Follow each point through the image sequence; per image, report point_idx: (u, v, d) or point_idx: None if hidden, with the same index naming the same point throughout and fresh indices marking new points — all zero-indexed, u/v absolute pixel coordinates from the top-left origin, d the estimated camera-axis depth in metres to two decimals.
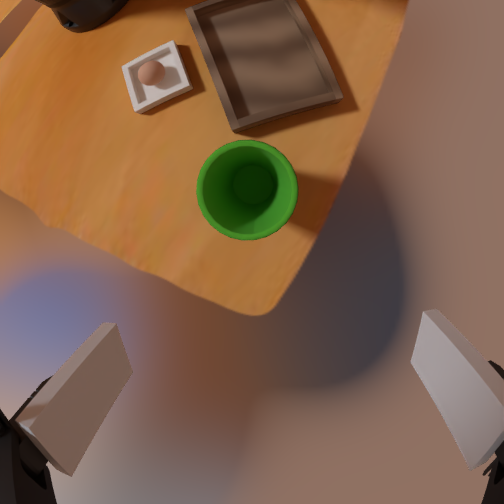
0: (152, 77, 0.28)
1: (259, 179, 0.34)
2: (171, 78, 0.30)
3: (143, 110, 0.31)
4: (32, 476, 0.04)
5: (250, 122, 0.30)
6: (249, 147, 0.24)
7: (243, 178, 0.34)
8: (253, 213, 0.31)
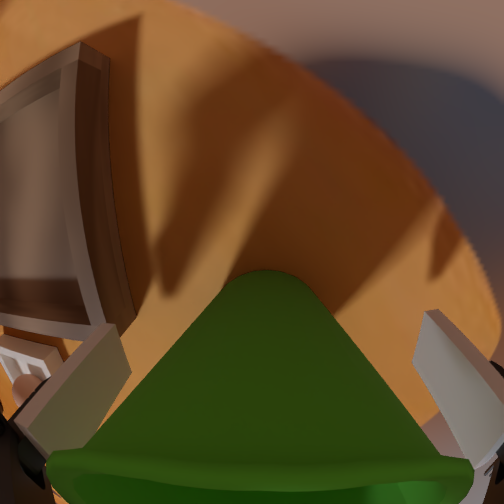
0: None
1: None
2: (41, 368, 0.16)
3: None
4: (31, 476, 0.04)
5: (97, 300, 0.11)
6: (87, 475, 0.04)
7: None
8: None
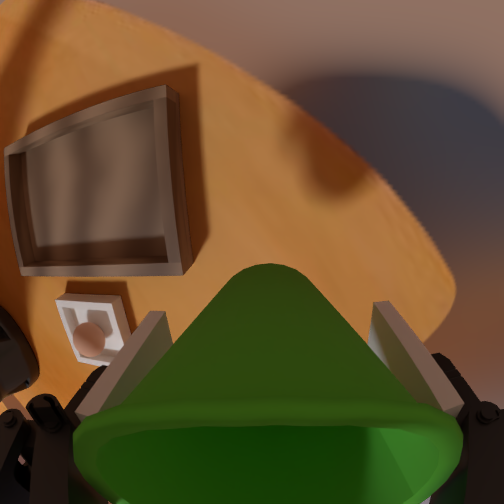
0: (91, 344, 0.22)
1: None
2: (102, 316, 0.25)
3: None
4: None
5: (176, 244, 0.19)
6: (108, 450, 0.04)
7: None
8: None
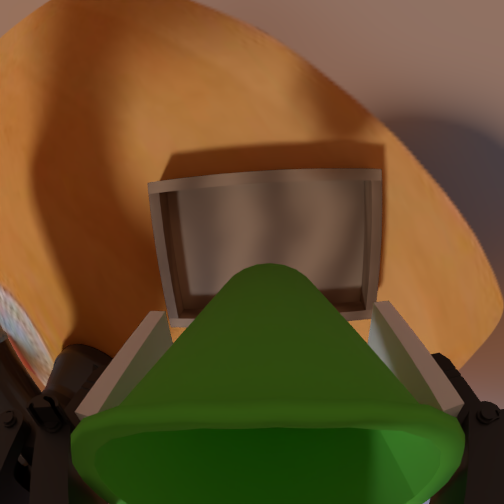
0: None
1: None
2: None
3: None
4: None
5: (375, 296, 0.24)
6: (106, 451, 0.04)
7: None
8: None
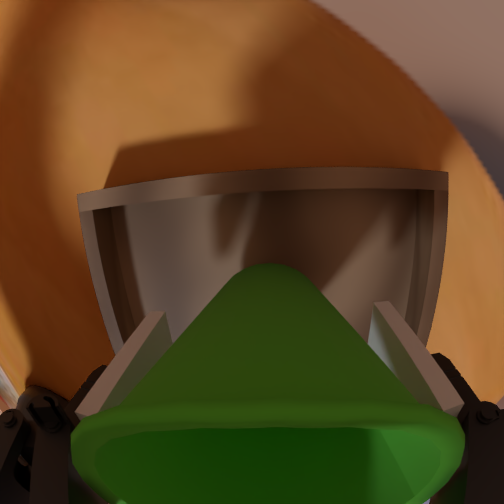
0: None
1: None
2: None
3: None
4: None
5: None
6: (106, 451, 0.04)
7: None
8: None
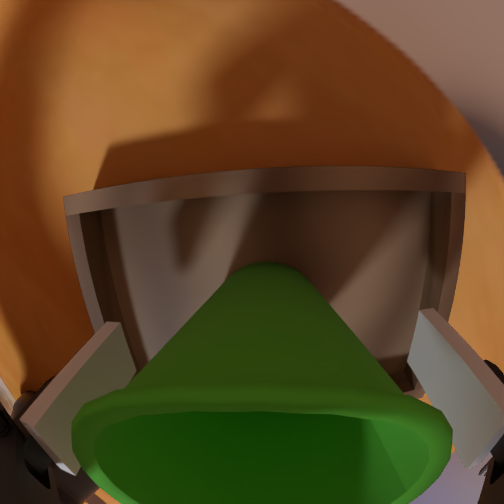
0: None
1: None
2: None
3: None
4: (36, 476, 0.04)
5: None
6: (105, 440, 0.05)
7: None
8: None
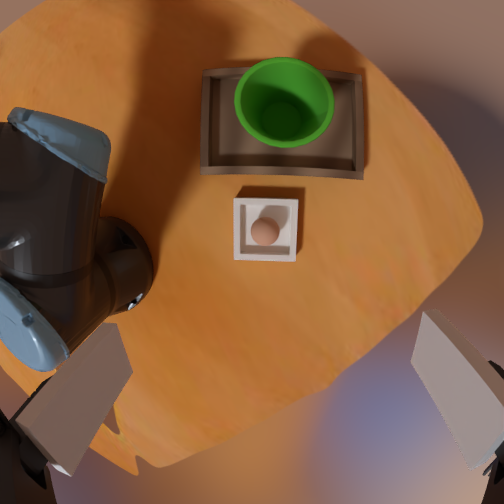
0: (276, 230, 0.33)
1: (278, 112, 0.31)
2: (276, 214, 0.36)
3: None
4: (32, 476, 0.04)
5: (362, 161, 0.31)
6: (245, 86, 0.22)
7: (272, 126, 0.32)
8: (309, 121, 0.28)
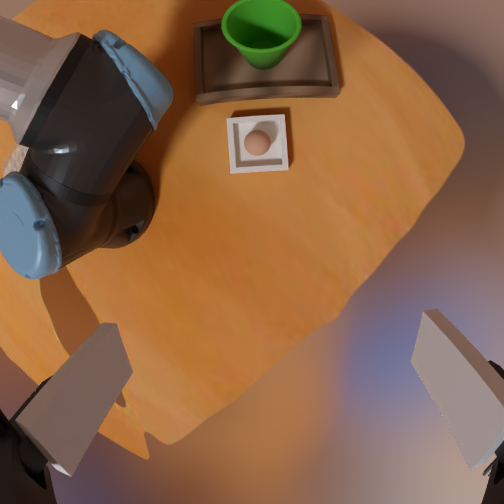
0: (267, 138, 0.34)
1: (260, 49, 0.32)
2: (266, 131, 0.37)
3: None
4: (32, 476, 0.04)
5: (337, 78, 0.32)
6: (229, 18, 0.23)
7: None
8: None
